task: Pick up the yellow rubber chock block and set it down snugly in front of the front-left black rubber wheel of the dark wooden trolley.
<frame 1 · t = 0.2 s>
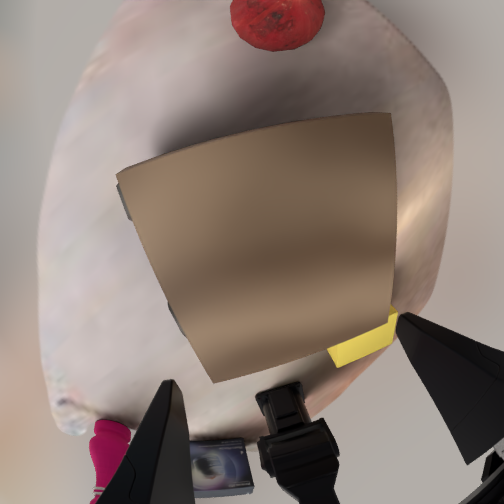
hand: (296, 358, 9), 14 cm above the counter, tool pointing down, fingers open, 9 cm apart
small box: (214, 444, 40), on the counter
trolley: (252, 207, 21), on the counter
pepper mill: (112, 427, 33), on the counter
onion: (262, 29, 15), on the counter
chock: (346, 312, 29), on the counter
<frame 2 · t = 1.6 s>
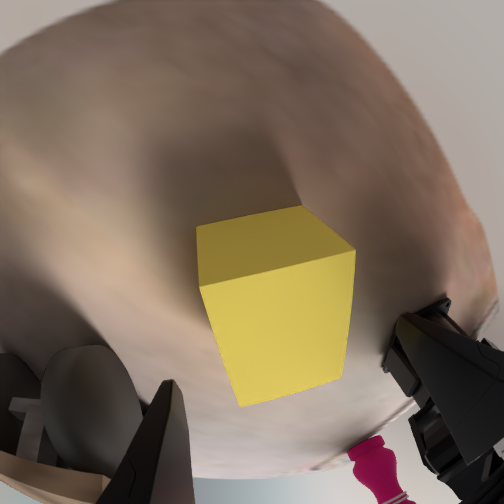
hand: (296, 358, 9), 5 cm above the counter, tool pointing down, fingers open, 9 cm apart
trolley: (87, 399, 16), on the counter
pepper mill: (363, 443, 33), on the counter
chock: (259, 277, 14), on the counter
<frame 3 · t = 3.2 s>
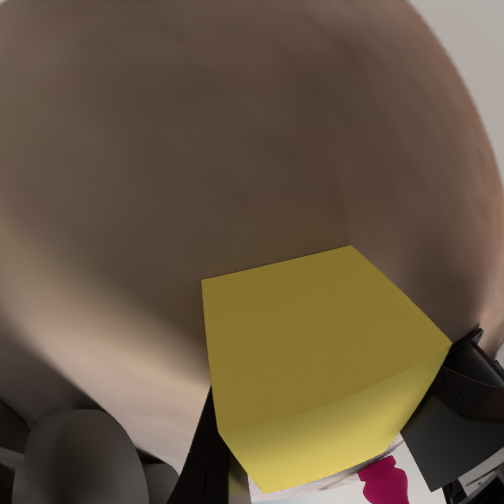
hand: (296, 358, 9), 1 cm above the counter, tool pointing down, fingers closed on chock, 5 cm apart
trolley: (81, 445, 12), on the counter
pepper mill: (374, 463, 29), on the counter
chock: (288, 339, 10), on the counter, touching gripper
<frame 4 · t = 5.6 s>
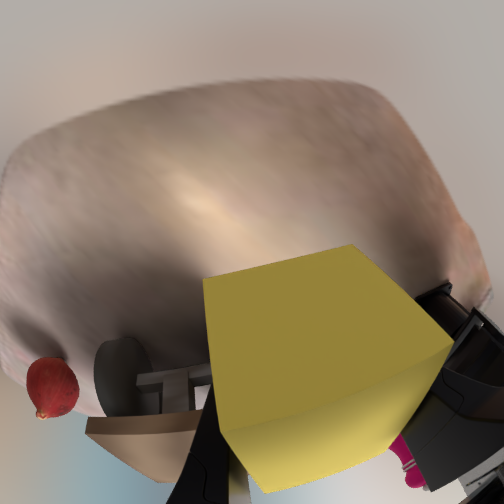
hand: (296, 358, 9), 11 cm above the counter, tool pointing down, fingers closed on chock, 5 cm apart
trolley: (193, 371, 25), on the counter
pepper mill: (387, 413, 41), on the counter
onion: (62, 359, 22), on the counter
chock: (289, 338, 10), point 10 cm above the counter, touching gripper
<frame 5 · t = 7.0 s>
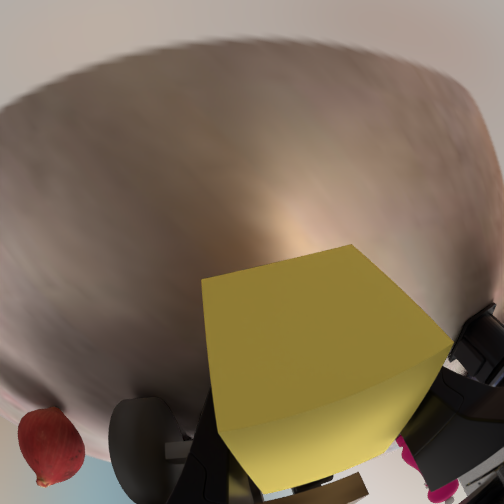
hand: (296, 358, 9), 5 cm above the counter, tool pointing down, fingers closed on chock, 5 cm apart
trolley: (227, 422, 18), on the counter
pepper mill: (409, 430, 36), on the counter
onion: (58, 407, 15), on the counter
chock: (288, 339, 10), point 4 cm above the counter, touching gripper
when the fingers open (2 cm above the counter, at t = 8.3 s): chock drops 1 cm, on the counter.
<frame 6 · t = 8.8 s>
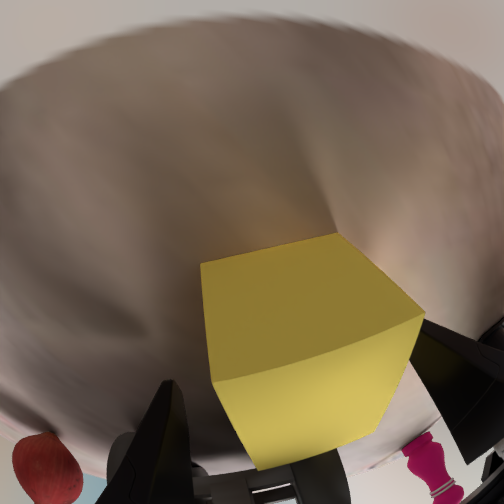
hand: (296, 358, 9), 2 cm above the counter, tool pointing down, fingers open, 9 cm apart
trolley: (233, 449, 16), on the counter
pepper mill: (415, 440, 33), on the counter
onion: (53, 431, 13), on the counter
chock: (280, 320, 11), on the counter
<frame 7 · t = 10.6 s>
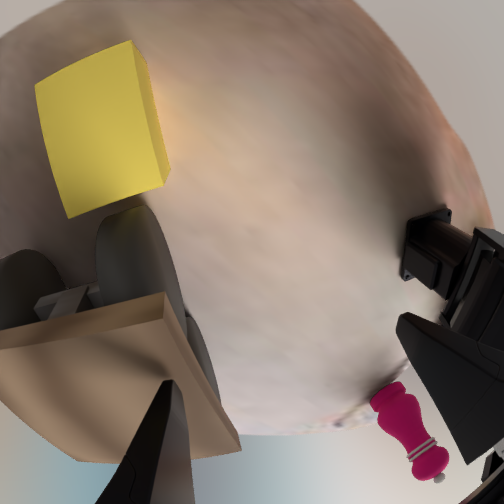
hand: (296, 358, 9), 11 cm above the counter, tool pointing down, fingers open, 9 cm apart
trolley: (119, 311, 19), on the counter
pepper mill: (385, 392, 36), on the counter
chock: (118, 127, 13), on the counter
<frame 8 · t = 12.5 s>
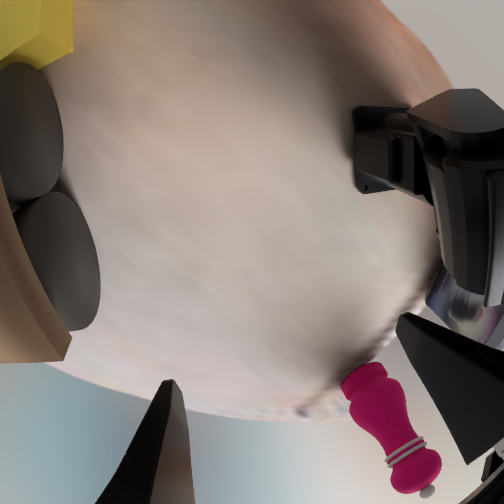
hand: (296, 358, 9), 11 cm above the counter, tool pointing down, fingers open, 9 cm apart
small box: (452, 264, 26), on the counter
trolley: (19, 202, 14), on the counter
pepper mill: (361, 376, 31), on the counter
chock: (43, 29, 9), on the counter
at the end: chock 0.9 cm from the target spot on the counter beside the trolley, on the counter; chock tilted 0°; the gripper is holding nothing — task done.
